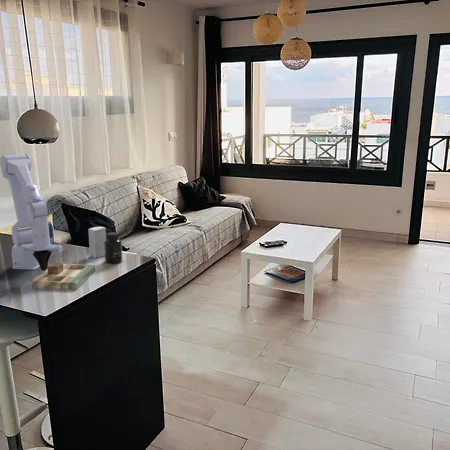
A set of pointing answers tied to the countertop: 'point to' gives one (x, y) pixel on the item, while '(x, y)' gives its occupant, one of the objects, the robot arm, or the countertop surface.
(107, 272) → the countertop surface
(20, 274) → the countertop surface
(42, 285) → the trap board
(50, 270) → the walnut block
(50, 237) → the soda can
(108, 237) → the supplement bottle
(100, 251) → the skincare box
